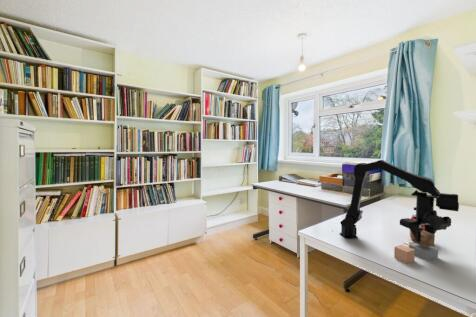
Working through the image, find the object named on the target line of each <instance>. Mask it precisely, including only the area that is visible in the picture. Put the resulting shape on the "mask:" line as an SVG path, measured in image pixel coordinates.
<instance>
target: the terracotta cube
mask: <svg viewBox="0 0 476 317" xmlns="http://www.w3.org/2000/svg"><path fill="white" fill-rule="evenodd" d="M393 251H394V252H393V253H394V254H393V256H394V257H393V258H394V259H395V260H398V261H400V262H403V263H404V264H410V263H412V262H415V258H416V257H415V256H416V255H415V249H412V248H410V247H409V246H408V245H406V244H405V245H404V244H399V245H395V246H394V250H393Z"/></svg>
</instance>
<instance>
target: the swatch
mask: <svg viewBox="0 0 476 317" xmlns="http://www.w3.org/2000/svg"><path fill="white" fill-rule="evenodd" d="M413 243H415V242H413V240H411V241H403V244H405V245H406V246H409V244H413Z"/></svg>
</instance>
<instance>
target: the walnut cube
mask: <svg viewBox="0 0 476 317" xmlns="http://www.w3.org/2000/svg"><path fill="white" fill-rule="evenodd" d="M435 237H436V236H435V234H431V233H429V232H427V231H424V230H423V231H421V236H420V242H417V241H416V239H415V237H414V236H413V239H412V241H413V242H415V243H417V244H419V245H421V246H423V247H430V246H431V247H435Z"/></svg>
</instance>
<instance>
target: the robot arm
mask: <svg viewBox="0 0 476 317" xmlns="http://www.w3.org/2000/svg"><path fill="white" fill-rule="evenodd" d="M378 169H380V170H382V171H384V172H386V173H389V174H391V175H393V176H395V177H397V178H399V179H401V180H404V181H406V182H407V183H408V184H409V185H411V186H412V187H413V188H415V189H416V190H415V191H413V192H411V193H410V194H411V196H413V197H416V204H415V205H416V206H415V207H413V210H414V211H415V215H416V216H413V219H416V221H414V220H412V219H411V218H409V217H405V218H401V219H400V220H399V226H403V227H405V228H407V229H409V231H410V230H411V232H412V234H413V236H414V237H415V239H416V241H417V242H420V236H421V231H423V230H424V229H422V228H421V225H424V226H425V231H427V232H429V233H431V234H434V235H435V234H436V233H437V231H440V230H444V231H445V230H447V228H450V227H451V226H452V218H451V217H450V216H442V215H441V216H439V215H438V213H437V210H435V209H434V207H437V208H438V209H439V210H444V211H452V212H453V211H454V212H459V209H460V204H459V195H458V194H456V193H441V192H440V190H439V189H437V187H436V185H435V183H436V182H435V181H434V180H433V179H432V178H430V177H427V176H423V175H419V174H415V173H412V172H409V171H407V170H405V169H403V168H401V167H398V166H396V165H394V164H391V163H389V162H387V161H385V160H384V159H379V160H377V161H373V162H372V161H371V162H369V163H366V162H360V163H356V164H355V166H354V167H353V176H354V185H353V190H352V194H351V199H350V206H349V208H348V209H347V212H346V214H345V217H344V219H342V220H341V221H340V224H341V225H340V227H341V231H340V232H339V235H340V236H342V237H344V238H345V239H346V238H347V239H348V240H349V239H358V238H359V237H358V235H357V232H358V231H357V225H356V224H357V223H358V222H359V221H360V220H361V219H362V218H363V212H364V211H363V210H361V207H360V206H361V201H362V195H363V190H364V185H365V181H366V179H367V176H368V175H369V172H372V171H376V170H378Z"/></svg>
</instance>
